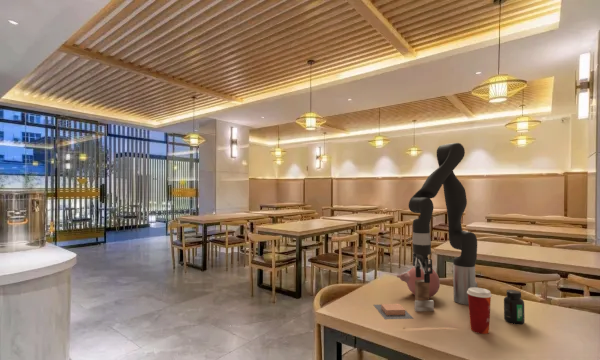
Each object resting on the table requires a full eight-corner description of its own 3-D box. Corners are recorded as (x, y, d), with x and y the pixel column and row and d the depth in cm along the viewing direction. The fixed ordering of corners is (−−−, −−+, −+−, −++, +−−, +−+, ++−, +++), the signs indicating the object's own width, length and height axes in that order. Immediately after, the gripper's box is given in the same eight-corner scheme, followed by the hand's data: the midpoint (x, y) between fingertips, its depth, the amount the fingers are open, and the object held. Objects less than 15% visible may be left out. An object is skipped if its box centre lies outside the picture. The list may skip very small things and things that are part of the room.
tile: (399, 303, 139) (405, 309, 132) (399, 308, 139) (405, 314, 132) (381, 304, 139) (386, 310, 132) (381, 308, 139) (386, 315, 132)
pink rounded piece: (396, 290, 167) (396, 260, 168) (437, 293, 161) (437, 263, 162) (396, 299, 153) (396, 267, 153) (442, 304, 147) (441, 270, 147)
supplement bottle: (525, 326, 123) (524, 295, 123) (504, 322, 126) (503, 292, 127) (523, 320, 129) (523, 290, 129) (503, 316, 132) (503, 287, 133)
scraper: (429, 309, 140) (429, 279, 141) (433, 312, 136) (433, 282, 137) (411, 309, 140) (411, 279, 140) (415, 313, 136) (415, 282, 136)
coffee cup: (497, 335, 115) (496, 293, 116) (474, 335, 115) (473, 293, 116) (484, 325, 124) (483, 286, 124) (463, 325, 124) (462, 286, 124)
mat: (399, 306, 144) (399, 304, 144) (413, 320, 128) (413, 318, 128) (373, 306, 144) (373, 304, 144) (384, 321, 128) (384, 319, 128)
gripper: (437, 245, 133) (438, 284, 132) (422, 239, 147) (423, 275, 146) (420, 246, 132) (421, 285, 132) (406, 240, 146) (407, 275, 146)
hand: (422, 279), depth 139 cm, fingers open, 8 cm apart
